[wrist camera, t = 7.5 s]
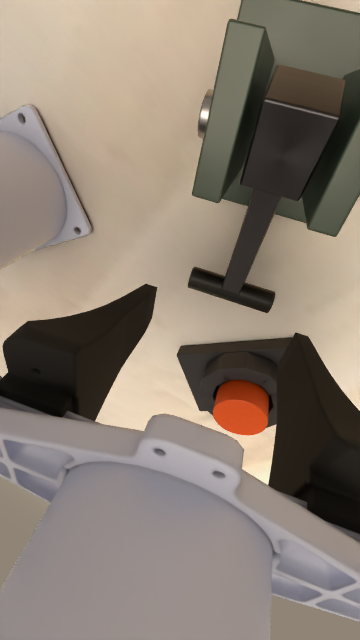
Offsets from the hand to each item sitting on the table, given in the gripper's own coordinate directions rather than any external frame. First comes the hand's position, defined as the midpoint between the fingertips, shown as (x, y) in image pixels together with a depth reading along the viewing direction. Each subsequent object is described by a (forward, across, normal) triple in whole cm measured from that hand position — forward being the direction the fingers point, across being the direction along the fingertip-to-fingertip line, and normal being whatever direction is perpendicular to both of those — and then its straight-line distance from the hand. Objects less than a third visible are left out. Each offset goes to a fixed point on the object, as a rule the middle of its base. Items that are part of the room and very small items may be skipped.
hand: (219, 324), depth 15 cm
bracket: (+7, 0, -8) cm, 11 cm away
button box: (+7, -4, +9) cm, 12 cm away
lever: (+3, 0, -5) cm, 6 cm away
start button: (+4, -4, +9) cm, 11 cm away
